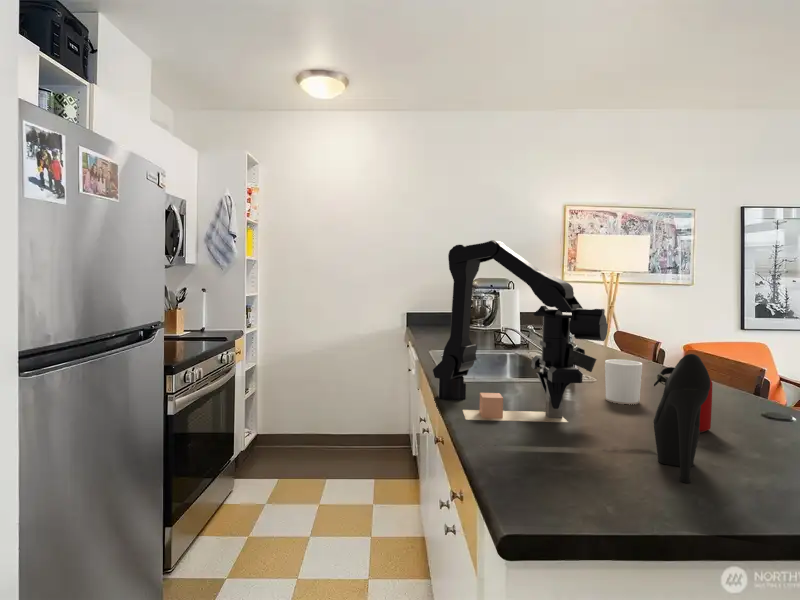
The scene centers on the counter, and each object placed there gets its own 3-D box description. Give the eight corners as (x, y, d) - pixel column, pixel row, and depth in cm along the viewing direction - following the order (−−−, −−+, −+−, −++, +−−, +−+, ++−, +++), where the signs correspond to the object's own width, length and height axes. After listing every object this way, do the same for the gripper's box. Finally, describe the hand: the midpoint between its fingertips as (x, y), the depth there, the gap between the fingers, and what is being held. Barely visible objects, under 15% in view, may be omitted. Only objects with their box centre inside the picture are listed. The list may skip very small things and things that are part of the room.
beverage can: (708, 427, 106) (710, 372, 105) (713, 435, 100) (715, 377, 99) (672, 422, 109) (674, 369, 108) (675, 430, 103) (677, 374, 102)
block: (482, 417, 107) (482, 397, 107) (479, 412, 112) (479, 392, 112) (502, 418, 107) (503, 397, 107) (499, 412, 112) (499, 393, 112)
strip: (465, 423, 106) (466, 387, 105) (462, 413, 114) (462, 379, 113) (568, 425, 105) (569, 389, 105) (557, 415, 113) (558, 382, 113)
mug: (649, 404, 125) (650, 364, 125) (620, 406, 123) (621, 365, 122) (618, 394, 136) (619, 357, 136) (591, 396, 133) (592, 358, 133)
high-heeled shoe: (688, 450, 90) (693, 343, 90) (718, 492, 72) (724, 358, 72) (641, 445, 93) (645, 340, 92) (658, 483, 75) (663, 354, 74)
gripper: (609, 343, 99) (606, 419, 99) (578, 333, 118) (576, 397, 118) (553, 342, 99) (551, 418, 100) (531, 332, 118) (530, 396, 118)
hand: (553, 407), depth 109 cm, fingers closed on strip, 2 cm apart
